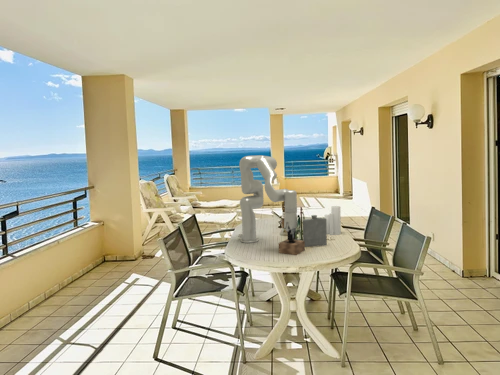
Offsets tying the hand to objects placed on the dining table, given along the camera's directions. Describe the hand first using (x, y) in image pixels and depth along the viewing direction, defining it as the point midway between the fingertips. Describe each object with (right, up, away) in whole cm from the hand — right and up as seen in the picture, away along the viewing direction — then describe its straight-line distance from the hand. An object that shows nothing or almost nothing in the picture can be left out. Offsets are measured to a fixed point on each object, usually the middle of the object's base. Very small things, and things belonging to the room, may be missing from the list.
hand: (291, 239), depth 244 cm
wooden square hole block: (0, -8, +1) cm, 8 cm away
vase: (+35, -2, +46) cm, 58 cm away
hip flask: (+17, -6, +14) cm, 23 cm away
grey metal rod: (0, -3, 0) cm, 3 cm away
